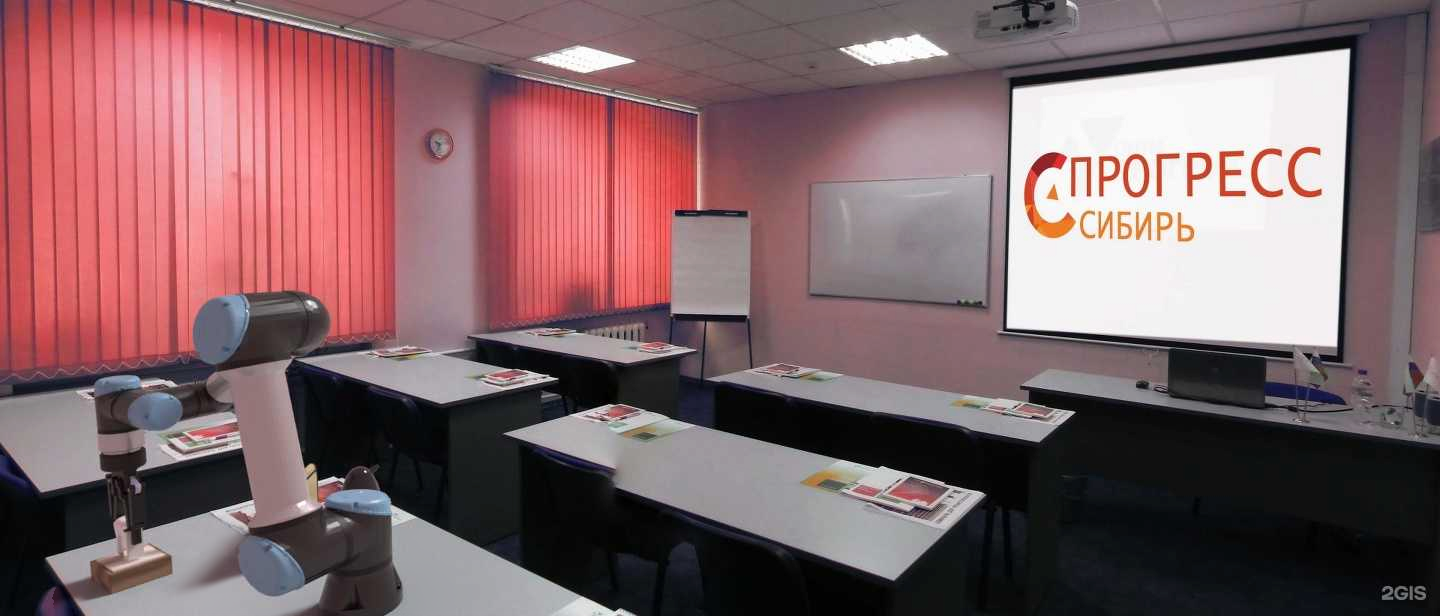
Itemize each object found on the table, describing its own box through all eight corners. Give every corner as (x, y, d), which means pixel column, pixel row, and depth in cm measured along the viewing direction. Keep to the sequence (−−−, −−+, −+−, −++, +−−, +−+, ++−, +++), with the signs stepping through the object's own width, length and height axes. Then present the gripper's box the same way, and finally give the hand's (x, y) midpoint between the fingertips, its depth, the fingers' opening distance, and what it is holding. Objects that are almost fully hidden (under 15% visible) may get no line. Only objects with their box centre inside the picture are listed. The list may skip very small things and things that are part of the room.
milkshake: (131, 563, 149) (127, 518, 148) (110, 560, 150) (107, 515, 149) (152, 554, 153) (149, 510, 152) (132, 551, 154) (129, 507, 153)
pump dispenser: (392, 522, 182) (390, 465, 180) (353, 536, 173) (351, 476, 172) (369, 513, 187) (367, 457, 186) (330, 526, 179) (327, 468, 177)
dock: (172, 573, 154) (171, 554, 153) (112, 593, 145) (110, 574, 144) (150, 560, 159) (149, 541, 159) (91, 579, 150) (89, 560, 150)
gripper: (162, 452, 147) (169, 558, 150) (127, 437, 157) (135, 538, 159) (117, 461, 141) (126, 572, 144) (83, 446, 150) (92, 551, 153)
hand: (131, 554), depth 151 cm, fingers closed on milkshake, 4 cm apart
